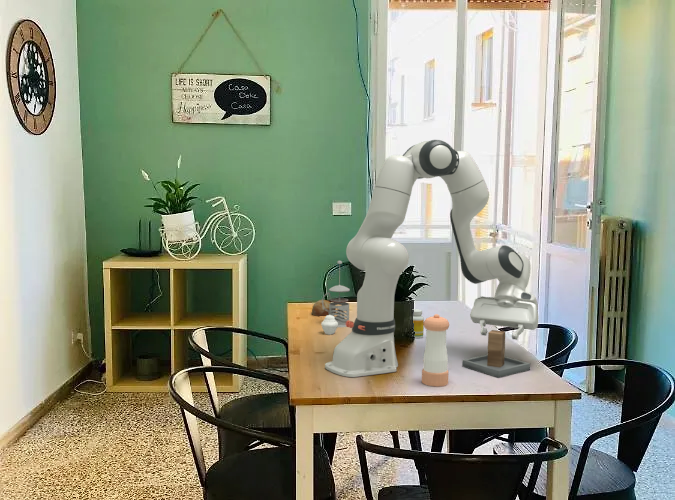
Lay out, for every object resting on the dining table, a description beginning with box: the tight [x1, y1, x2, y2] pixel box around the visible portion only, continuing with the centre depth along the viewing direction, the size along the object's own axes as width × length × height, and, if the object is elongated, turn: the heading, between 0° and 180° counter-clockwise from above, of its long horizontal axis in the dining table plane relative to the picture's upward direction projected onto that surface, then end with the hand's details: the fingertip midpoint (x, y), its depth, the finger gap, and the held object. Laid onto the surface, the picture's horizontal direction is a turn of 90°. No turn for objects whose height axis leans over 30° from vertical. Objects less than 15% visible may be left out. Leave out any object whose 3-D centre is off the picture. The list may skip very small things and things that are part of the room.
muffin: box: [320, 315, 338, 335], centre depth 238 cm, size 6×6×7 cm
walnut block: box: [487, 329, 506, 368], centre depth 195 cm, size 4×4×10 cm
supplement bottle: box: [413, 308, 425, 339], centre depth 234 cm, size 5×5×10 cm
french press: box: [321, 260, 350, 328], centre depth 252 cm, size 10×12×25 cm
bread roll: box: [310, 299, 337, 317], centre depth 272 cm, size 10×10×8 cm
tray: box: [461, 354, 531, 379], centre depth 196 cm, size 14×14×2 cm
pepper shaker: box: [421, 313, 450, 387], centre depth 180 cm, size 7×7×19 cm
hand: (498, 336), depth 196 cm, fingers open, 8 cm apart
